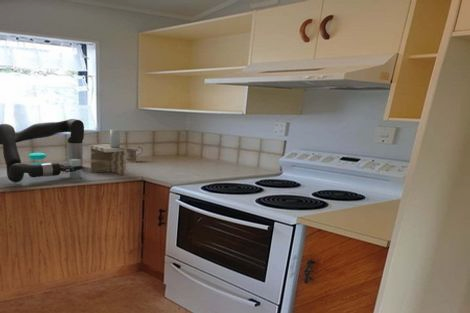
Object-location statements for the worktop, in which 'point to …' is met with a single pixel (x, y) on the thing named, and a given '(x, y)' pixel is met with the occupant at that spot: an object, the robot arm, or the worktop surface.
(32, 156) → the teal spool
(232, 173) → the worktop surface
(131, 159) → the mug
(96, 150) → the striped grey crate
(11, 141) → the robot arm
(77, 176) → the grey-green short column
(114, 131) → the pale grey cylinder
